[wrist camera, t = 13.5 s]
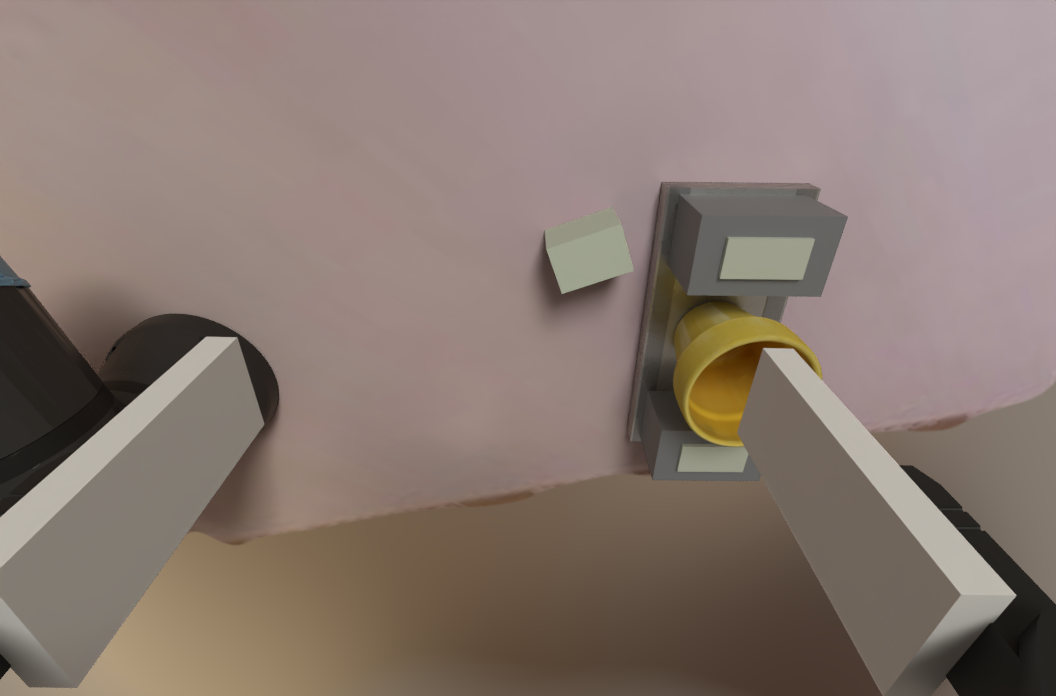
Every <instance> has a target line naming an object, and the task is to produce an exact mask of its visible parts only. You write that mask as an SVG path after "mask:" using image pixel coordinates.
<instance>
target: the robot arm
mask: <svg viewBox="0 0 1056 696" xmlns="http://www.w3.org/2000/svg"><path fill="white" fill-rule="evenodd" d="M29 287H31V285H30V284H29V283H28V282H27V281H26V280H24V279H21V278H19V277H18V275H17V274H16V273H15V272H14V271H13V270H12V269H11V268H10V267H9V265H8V264H7V263H6V262H5V261H4V260H3V259H2V258H1V256H0V679H1V678H2V677H3V676H4V674H5V673H6V672H7V671H8V669H9V668H10V667H11V669H12V670H13V671H14V672H15V673H16V674H17V675H18V676H19V677H20V678H21V679H22V680H23V681H24V682H25V683H26V685H27V686H28V687H55V688H57V687H58V688H77V687H78V686H79V684H80V683H81V682H82V680H83V679H84V677H85V676H86V675H87V673H88V672H89V670H90V669H91V668H92V666H93V665H94V663H95V662H96V660H97V659H98V658H99V656H100V655H101V653H102V652H103V651H104V649H105V648H106V646H107V645H108V644H109V642H110V641H111V639H112V638H113V637H114V635H115V634H116V632H117V631H118V629H119V628H120V627H121V625H122V623H123V622H124V621H125V620H126V618H127V617H128V616H129V614H130V613H131V611H132V610H133V608H134V607H135V606H136V604H137V603H138V601H139V600H140V599H141V597H142V596H143V594H144V593H145V592H146V590H147V589H148V587H149V586H150V585H151V583H152V582H153V580H154V579H155V578H156V576H157V575H158V573H159V572H160V571H161V569H162V568H163V566H164V565H165V563H166V562H167V560H168V559H169V558H170V557H171V555H172V554H173V552H174V551H175V550H176V548H177V547H178V545H179V544H180V542H181V541H182V540H183V538H184V537H185V535H186V534H187V533H188V531H189V530H190V528H191V527H192V526H193V524H194V523H195V521H196V520H197V519H198V517H199V516H200V514H201V513H202V512H203V510H204V509H205V507H206V506H207V505H208V503H209V502H210V500H211V499H212V498H213V496H214V495H215V493H216V492H217V490H218V489H219V488H220V486H221V485H222V483H223V482H224V481H225V479H226V478H227V476H228V475H229V474H230V472H231V471H232V469H233V468H234V467H235V465H236V464H237V462H238V461H239V460H240V458H241V457H242V455H243V454H244V453H245V451H246V450H247V448H248V447H249V446H250V444H251V443H252V441H253V440H254V438H255V437H256V436H257V435H258V434H259V433H260V432H261V431H262V430H263V429H264V427H265V426H266V425H267V423H268V422H269V420H270V419H271V418H272V416H273V414H274V412H275V410H276V407H277V404H278V387H277V382H276V379H275V376H274V374H273V372H272V370H271V368H270V366H269V364H268V363H267V361H266V360H265V359H264V357H263V356H262V355H261V354H260V352H259V351H258V350H257V349H256V348H255V347H254V346H253V345H252V344H250V343H249V342H248V341H247V340H246V339H244V338H243V337H242V336H240V335H239V334H237V333H236V332H234V331H233V330H231V329H229V328H227V327H225V326H223V325H221V324H219V323H216V322H214V321H211V320H208V319H205V318H202V317H198V316H193V315H186V314H164V315H159V316H155V317H152V318H149V319H147V320H144V321H143V322H141V323H139V324H138V325H136V326H135V327H133V328H132V329H131V330H129V331H128V332H126V333H125V334H124V335H122V336H121V337H120V338H119V339H118V340H117V341H116V342H115V344H114V345H113V346H112V348H111V350H110V352H109V354H108V356H107V359H106V362H105V364H104V365H103V367H102V368H101V370H100V371H99V373H98V374H96V373H95V372H94V370H93V369H92V368H91V367H90V365H89V364H88V363H87V362H86V360H85V359H84V358H83V356H82V355H81V354H80V353H79V351H78V350H77V349H76V347H75V346H74V345H73V344H72V342H71V341H70V340H69V338H68V337H67V336H66V335H65V333H64V332H63V331H62V329H61V328H60V327H59V326H58V324H57V323H56V322H55V321H54V319H53V318H52V317H51V315H50V314H49V313H48V312H47V310H46V309H45V308H44V306H43V305H42V304H41V303H40V301H39V300H38V299H37V297H36V296H35V295H34V294H33V292H32V291H31V290H30V289H29ZM737 434H738V436H739V437H740V439H741V441H742V443H743V445H744V446H745V448H746V450H747V452H748V454H749V455H750V457H751V459H752V461H753V463H754V464H755V466H756V468H757V470H758V472H759V473H760V475H761V477H762V479H763V481H764V482H765V484H766V486H767V488H768V489H769V491H770V493H771V495H772V497H773V499H774V500H775V502H776V504H777V506H778V508H779V510H780V511H781V513H782V515H783V517H784V519H785V520H786V522H787V524H788V526H789V527H790V529H791V531H792V533H793V535H794V537H795V538H796V540H797V542H798V544H799V546H800V547H801V549H802V551H803V553H804V554H805V556H806V558H807V560H808V562H809V564H810V565H811V567H812V569H813V571H814V573H815V574H816V576H817V578H818V580H819V582H820V583H821V585H822V587H823V589H824V590H825V592H826V594H827V596H828V598H829V599H830V602H831V603H832V605H833V607H834V608H835V610H836V612H837V614H838V616H839V618H840V620H841V621H842V623H843V625H844V627H845V629H846V630H847V632H848V634H849V636H850V637H851V639H852V641H853V643H854V645H855V647H856V648H857V650H858V652H859V654H860V656H861V657H862V659H863V661H864V663H865V665H866V666H867V668H868V670H869V672H870V674H871V675H872V677H873V679H874V681H875V683H876V684H877V686H878V688H879V690H880V692H881V694H882V695H883V696H931V695H932V694H933V692H934V691H935V690H936V689H937V688H938V687H939V686H940V684H941V683H942V682H943V681H944V680H945V679H946V677H947V679H948V680H949V682H950V683H951V684H952V686H953V687H954V689H955V690H956V692H957V693H958V695H959V696H1056V604H1055V603H1054V602H1053V601H1052V600H1051V599H1050V598H1049V597H1048V596H1047V595H1046V594H1045V593H1044V592H1043V591H1042V590H1041V589H1040V588H1039V587H1038V585H1036V583H1034V581H1033V580H1032V579H1031V578H1030V577H1029V576H1028V575H1027V574H1026V573H1025V572H1024V571H1023V570H1022V569H1021V568H1020V567H1019V566H1018V565H1017V564H1016V563H1015V562H1014V561H1013V559H1012V558H1011V557H1010V556H1009V555H1008V554H1007V553H1006V552H1005V551H1004V550H1003V549H1002V548H1001V547H1000V546H999V545H998V544H997V543H996V542H995V541H994V540H993V539H992V538H991V537H990V536H989V534H988V533H987V532H986V531H981V529H980V525H979V524H978V523H977V522H976V521H975V520H974V519H973V518H972V517H971V516H970V515H969V514H968V513H967V512H963V510H962V506H961V505H960V504H959V503H958V502H957V501H956V500H955V499H954V498H953V497H952V496H951V495H950V494H949V493H948V492H947V491H946V490H945V489H944V488H943V487H942V486H941V485H940V484H939V483H937V482H936V481H934V480H933V479H931V478H930V477H928V476H927V475H925V474H924V473H922V472H921V471H920V470H918V469H917V468H915V467H914V466H903V465H898V464H897V463H896V462H895V461H894V459H893V458H892V457H891V456H890V455H889V454H888V453H887V452H886V451H885V449H884V448H883V447H882V446H881V445H880V444H879V443H878V442H877V441H876V440H875V438H874V437H873V436H872V435H871V434H870V433H869V432H868V431H867V430H866V428H865V427H864V426H863V425H862V424H861V423H860V422H859V421H858V420H857V418H856V417H855V416H854V415H853V414H852V413H851V412H850V411H849V410H848V409H847V407H846V406H845V405H844V404H843V403H842V402H841V401H840V400H839V399H838V397H837V396H836V395H835V394H834V393H833V392H832V391H831V390H830V389H829V388H828V386H827V385H826V384H825V383H824V382H823V381H822V380H821V379H820V378H819V376H818V375H817V374H816V373H815V372H814V371H813V370H812V369H811V368H810V367H809V365H808V364H807V363H806V362H805V361H804V360H803V359H802V358H801V357H800V355H799V354H798V353H797V352H796V351H795V350H794V349H785V348H763V350H762V353H761V357H760V360H759V363H758V366H757V370H756V373H755V376H754V379H753V383H752V386H751V389H750V392H749V396H748V399H747V402H746V406H745V409H744V412H743V415H742V419H741V422H740V425H739V428H738V432H737Z"/></svg>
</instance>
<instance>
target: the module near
mask: <svg viewBox="0 0 1056 696" xmlns="http://www.w3.org/2000/svg"><path fill="white" fill-rule="evenodd" d="M847 218H848V216H846V215H844V214H842V213H840V212H838V211H836V210H834V209H832V208H830V207H828V206H826V205H824V204H822V203H820V202H818V201H816V200H814V199H812V198H810V197H808V196H804V195H724V194H680V196H679V202H678V208H677V215H676V221H675V227H674V233H673V239H672V246H671V252H670V258H669V264H668V267H669V268H670V270H671V271H672V273H673V274H674V276H675V277H676V279H677V280H678V282H679V283H680V285H681V287H682V288H683V290H684V291H685V293H686V294H687V295H709V296H810V297H821V295H822V292H823V289H824V286H825V283H826V280H827V277H828V274H829V271H830V268H831V265H832V262H833V259H834V256H835V253H836V250H837V248H838V245H839V242H840V239H841V236H842V233H843V230H844V227H845V224H846V221H847Z"/></svg>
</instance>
